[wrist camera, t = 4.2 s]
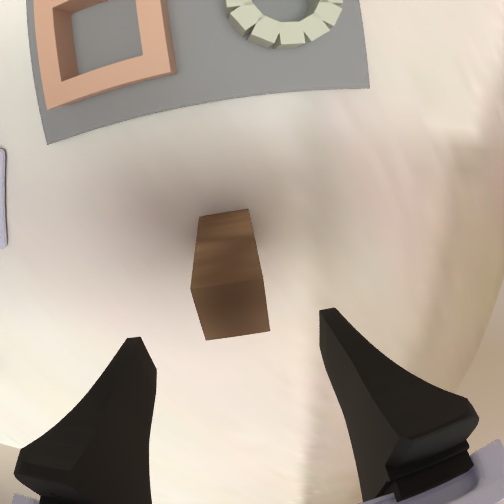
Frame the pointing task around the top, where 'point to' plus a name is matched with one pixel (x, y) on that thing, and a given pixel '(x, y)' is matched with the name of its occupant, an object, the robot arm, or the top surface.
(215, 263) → the square bit
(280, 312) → the top surface
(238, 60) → the socket block
